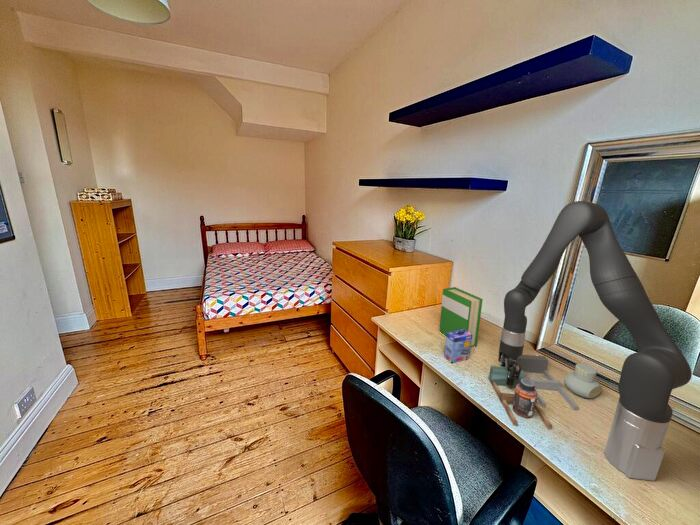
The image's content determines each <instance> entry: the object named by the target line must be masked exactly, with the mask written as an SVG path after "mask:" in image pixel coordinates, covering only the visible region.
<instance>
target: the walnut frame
mask: <svg viewBox="0 0 700 525" xmlns="http://www.w3.org/2000/svg"><path fill="white" fill-rule="evenodd" d="M509 369H512V367H509ZM510 374H511V371H510ZM507 376H508V375H507V370H506V367H501V366H500V365H499V366H498V365H496V366H495V365H490V369H489V375H488V381H489V382H490V384H491V386H492V388H493V390H494V392H495V393H496V395H497V398H498V399H499V401H500V403H501V405H502V408H504V411H505V412H506V414H507V416H508V418H509V420H510V422H511V423H512V425H513V427H514V426H515V427H517V426H518V420H517V418H516V417H515V415H514V412H513V411H512V409H511V407H510V406H509V405H513V401H514V395H515V393H509V392H508V393H507V392H502V391H501V389H500V388H499V386H507V385H506V382H507ZM524 376H526V372H524V371H523V370H522V368H521V372H520V376H519V379H518V380H514V385H513V387H516V386H517V384H519V383H520V381H521V379H524ZM507 387H508V386H507ZM534 411H535V412H536V413H537V415H538V417H540V419H541V421H542V422H543V424H544V425H545V426H546V428H547V429H548V430H552V429H553V424H552V422H551V421H550V420H549V417H548V416H547V415H546V414H545V412H544V411H543V410H542V408H541V407H540V404H539V403H538V400H537V398H536V403H535V408H534Z"/></svg>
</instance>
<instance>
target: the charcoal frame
mask: <svg viewBox="0 0 700 525" xmlns="http://www.w3.org/2000/svg"><path fill="white" fill-rule="evenodd" d="M517 362H518V363H517V365H518V366H521V368H522V370H523V371H524V372H525V373H532V374H533V373H535V374H543V375H544V376H545V377H546V378H547V379H543V378H531V377H528V376H526V375H525V376H524V379H529V380H531V381H533V382H534V383H535V389H536V390H537V389H539V390H550V391H557V392H559V394H560V395H561V397H563V398H564V400H565V401H566V402H567V403H568V405H569V406H570V407H571V409H573V410H574V411H576V410H577V411H578V408H579V405H578V404H577V403H576V402H575V401H574V400H573V398H572V397H571V396H570V395H569V393H567V392H566V391H565V389H564V388H563V387H562V385H563V383H562V382H561V381H560V380H558V379H557V380H556V379H555V378H554V377H553V376H552V375H551V373H550V372H549V371H547V370H548V364H549V359H548V358H547V357H546V356H545V355H533V354H531V355H530V354H522V355H521V356H519V357H518V358H517ZM537 403H538V404H539V406H541V407H543V408H545V407H546V404H547V402H546V401H545V400H544V399H543V397H542V395H541V394H540V393H539V392H538V391H537Z"/></svg>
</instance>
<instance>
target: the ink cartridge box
mask: <svg viewBox="0 0 700 525" xmlns="http://www.w3.org/2000/svg"><path fill="white" fill-rule="evenodd" d="M471 342H472V334H471V333H469V332H468V331H466V329H462V330H458V331H452V332H448V333H447V336H446V337H445V347H444V355H443V356H445V357H446V358H447V359H448V360H449V361H451V362H455V363H457V362H456V361H459V362H461V361H460V360H463V361H467V360H466V359H468V360H469V358H470V353H471V347H472V346H471ZM445 357H444V358H445ZM446 358H445V359H446ZM447 359H446V360H447ZM448 360H447V361H448ZM449 361H448V362H449Z"/></svg>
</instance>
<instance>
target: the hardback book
mask: <svg viewBox="0 0 700 525" xmlns="http://www.w3.org/2000/svg"><path fill="white" fill-rule="evenodd" d="M482 306H483V298H481V297H479V296H477V295H475V294H472V293H470V292H468V291H464V290H463V289H460V288H458V287H455V286H453V287H446V288H443V289H442V299H441V310H440V320H439V331H440V332H441V333H442V334H444V335H445V336H447V333H448V332H452V331H458V330H462V329H466V331H468V332H469V333H471V334H472V342H471V347H472V346H473V347H474V346H475V347H474V348H477V346H478V339H479V338H478V337H479V332H480V323H481V316H482V315H481V314H482ZM442 334H441V335H442ZM445 336H444V337H445Z"/></svg>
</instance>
